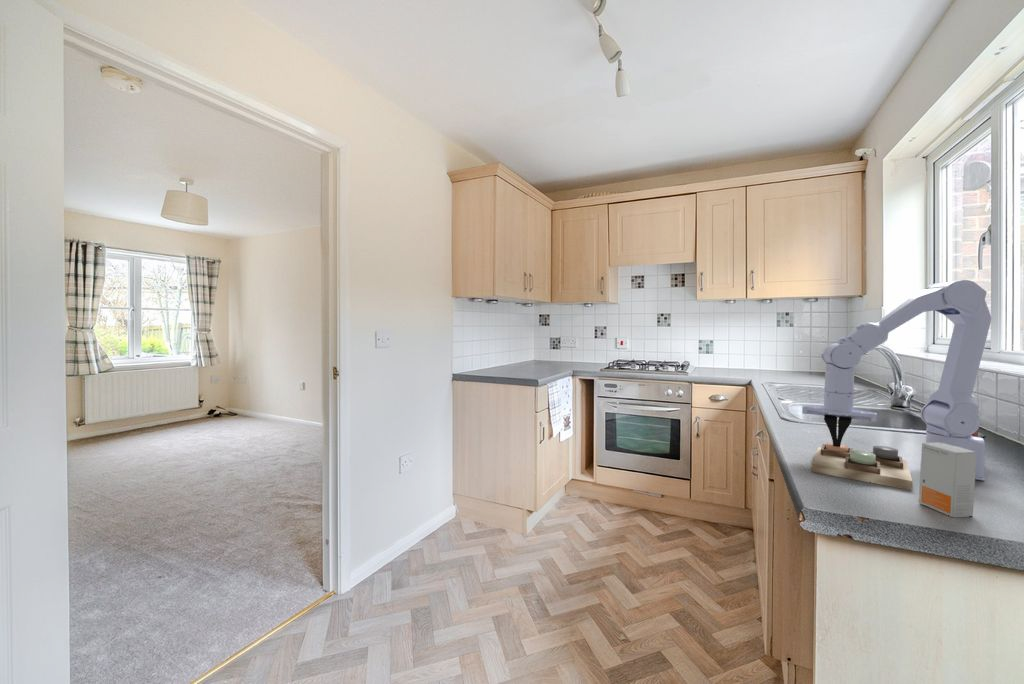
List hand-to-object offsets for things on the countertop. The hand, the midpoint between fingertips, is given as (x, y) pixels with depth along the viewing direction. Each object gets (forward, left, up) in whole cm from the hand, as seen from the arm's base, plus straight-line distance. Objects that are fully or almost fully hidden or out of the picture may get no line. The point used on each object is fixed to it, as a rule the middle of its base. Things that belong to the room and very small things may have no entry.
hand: (836, 446), depth 105 cm
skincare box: (-17, +21, -4) cm, 27 cm away
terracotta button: (0, 0, -2) cm, 2 cm away
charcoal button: (-9, +1, 0) cm, 9 cm away
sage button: (-5, +9, 0) cm, 10 cm away
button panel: (-5, +4, -4) cm, 7 cm away
